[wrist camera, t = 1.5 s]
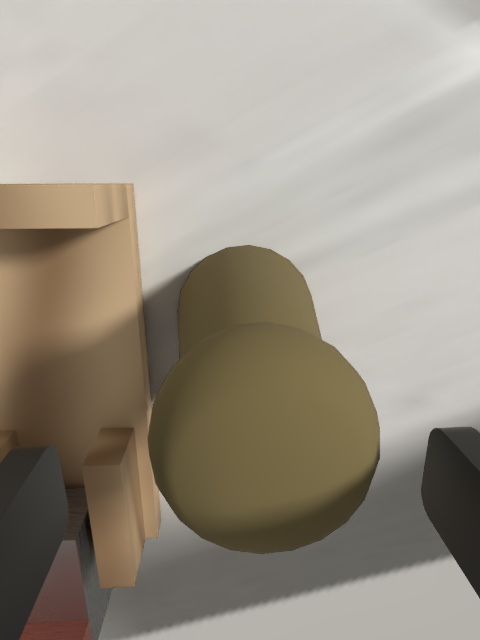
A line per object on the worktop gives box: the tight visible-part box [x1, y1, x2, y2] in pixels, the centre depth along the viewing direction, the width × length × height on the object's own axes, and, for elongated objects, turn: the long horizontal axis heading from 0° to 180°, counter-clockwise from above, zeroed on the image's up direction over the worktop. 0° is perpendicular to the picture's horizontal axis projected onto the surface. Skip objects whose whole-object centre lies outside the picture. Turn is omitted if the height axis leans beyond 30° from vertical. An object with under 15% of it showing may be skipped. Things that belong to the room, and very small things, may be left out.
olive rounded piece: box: [147, 245, 380, 554], centre depth 13 cm, size 6×6×11 cm
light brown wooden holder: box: [0, 184, 161, 588], centre depth 16 cm, size 8×17×5 cm, turn 0°
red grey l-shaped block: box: [19, 487, 112, 640], centre depth 17 cm, size 3×6×7 cm, turn 0°
